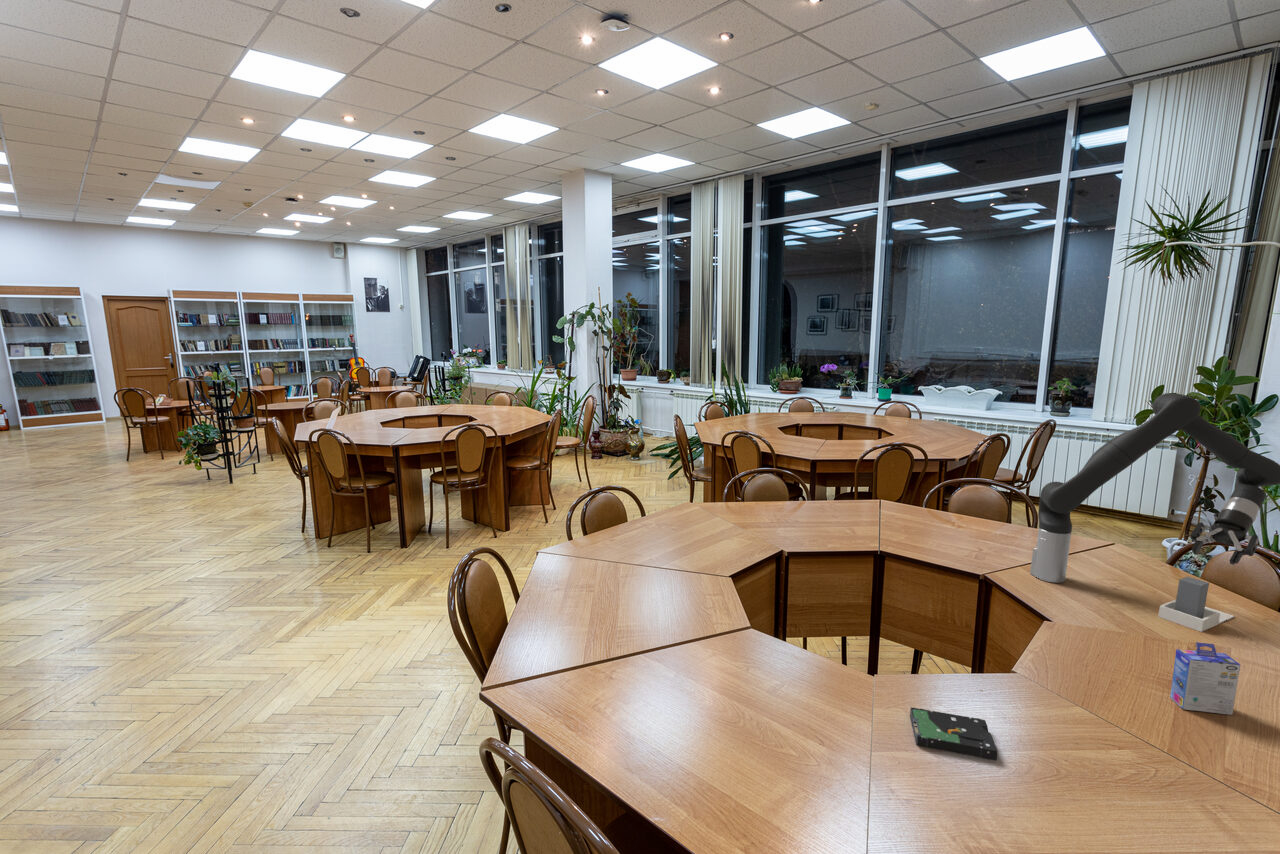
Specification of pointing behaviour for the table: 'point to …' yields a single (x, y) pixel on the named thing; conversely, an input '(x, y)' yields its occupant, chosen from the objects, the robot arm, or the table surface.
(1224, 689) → the ink cartridge box
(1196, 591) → the charcoal carton
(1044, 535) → the robot arm
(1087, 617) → the table surface
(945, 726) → the disk drive
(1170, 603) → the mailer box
